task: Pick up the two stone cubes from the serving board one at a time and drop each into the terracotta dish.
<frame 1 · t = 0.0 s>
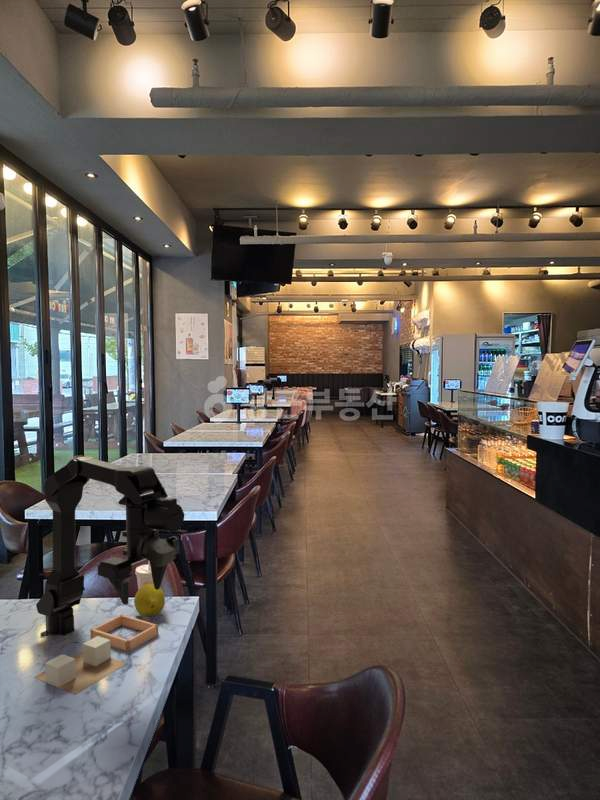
hand: (141, 596, 118), 15 cm above the table, tool pointing down, fingers open, 9 cm apart
lemon: (149, 616, 142), on the table
smoothie: (146, 602, 150), on the table
board: (81, 674, 114), on the table
stone a: (97, 659, 118), point 1 cm above the table, touching board
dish: (124, 640, 129), on the table
stone b: (60, 680, 110), point 1 cm above the table, touching board
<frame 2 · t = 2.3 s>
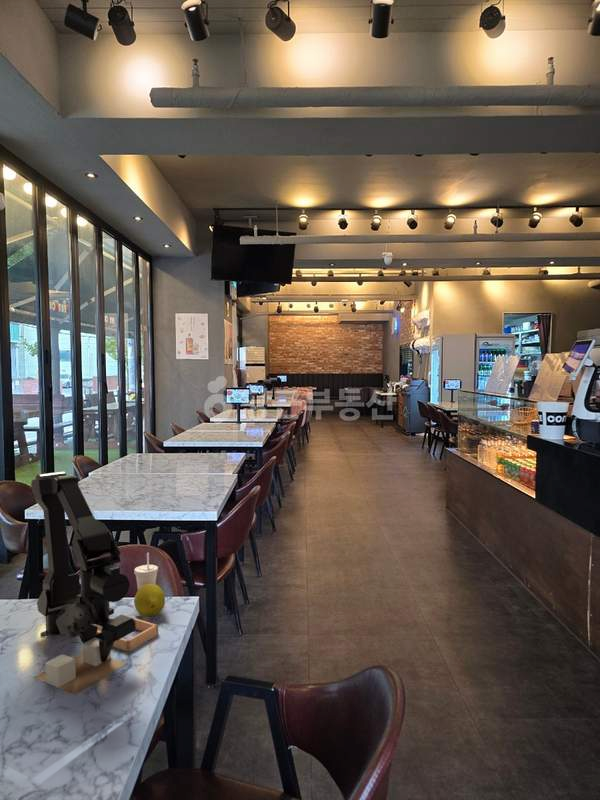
hand: (97, 658, 118), 1 cm above the table, tool pointing down, fingers closed on stone a, 4 cm apart
stone a: (97, 659, 118), point 1 cm above the table, touching board, gripper
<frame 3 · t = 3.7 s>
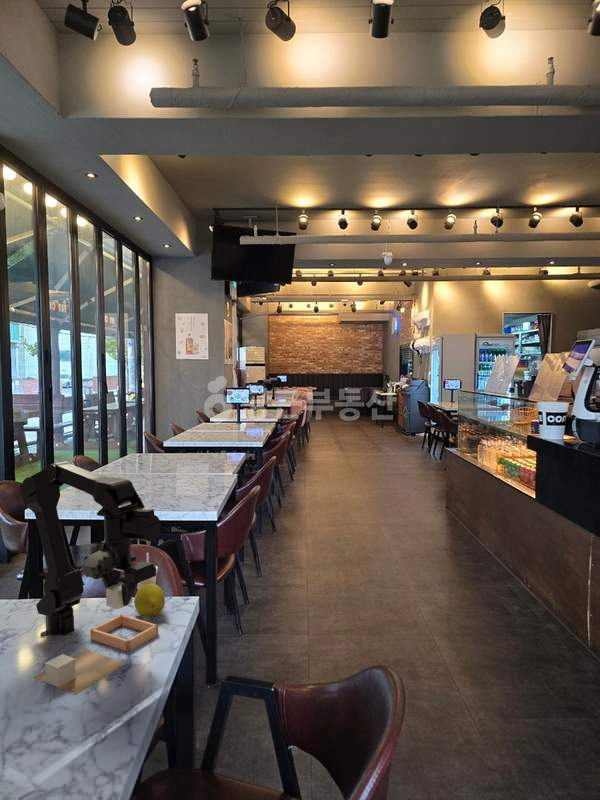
hand: (119, 603, 124), 11 cm above the table, tool pointing down, fingers closed on stone a, 4 cm apart
stone a: (119, 604, 124), point 11 cm above the table, touching gripper
everything else where it was.
when the fingers open (4 cm above the table, at t = 5.3 s): stone a drops 3 cm, resting on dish.
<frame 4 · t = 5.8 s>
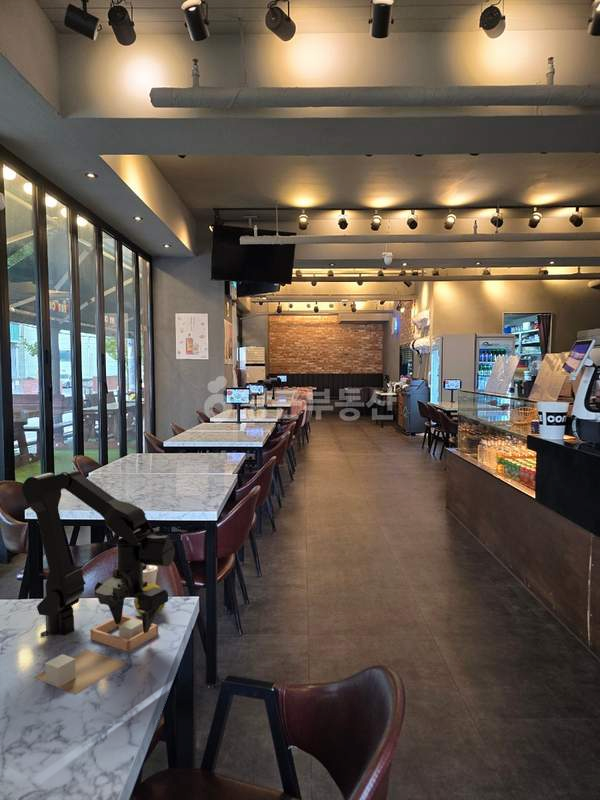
hand: (131, 627, 127), 4 cm above the table, tool pointing down, fingers open, 9 cm apart
stone a: (132, 640, 127), point 1 cm above the table, touching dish
everything else where it was.
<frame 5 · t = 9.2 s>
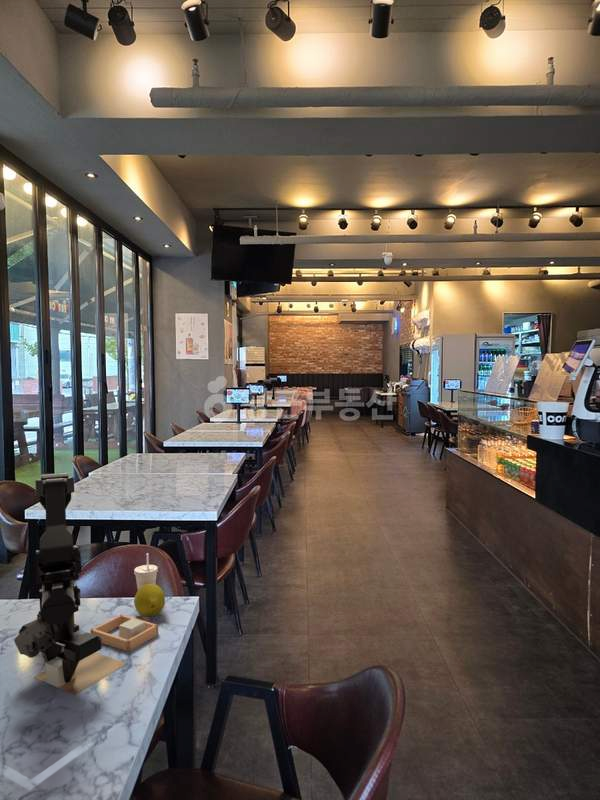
hand: (60, 679, 110), 1 cm above the table, tool pointing down, fingers closed on stone b, 4 cm apart
stone b: (60, 680, 110), point 1 cm above the table, touching board, gripper
everything else where it was.
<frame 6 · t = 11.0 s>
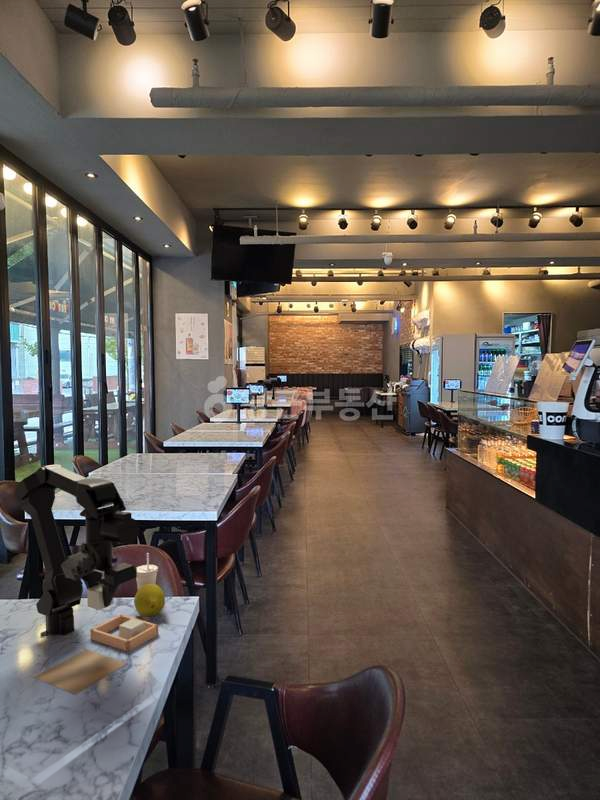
hand: (100, 604, 124), 11 cm above the table, tool pointing down, fingers closed on stone b, 4 cm apart
stone b: (100, 605, 124), point 11 cm above the table, touching gripper
everything else where it was.
when the fingers open (4 cm above the table, at t = 12.8 s): stone b drops 3 cm, resting on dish.
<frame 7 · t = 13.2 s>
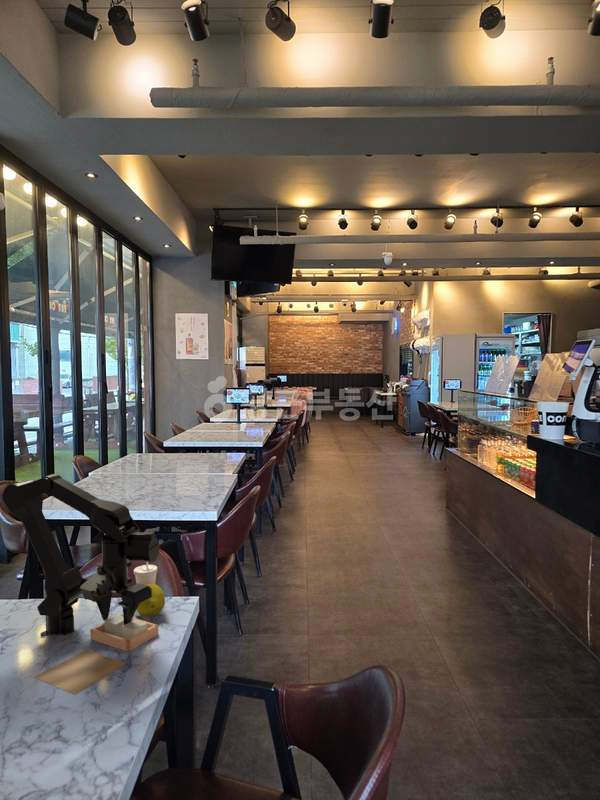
hand: (116, 623, 130), 4 cm above the table, tool pointing down, fingers open, 7 cm apart
stone a: (135, 641, 127), point 1 cm above the table, touching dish, gripper
stone b: (117, 635, 130), point 1 cm above the table, touching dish
everything else where it was.
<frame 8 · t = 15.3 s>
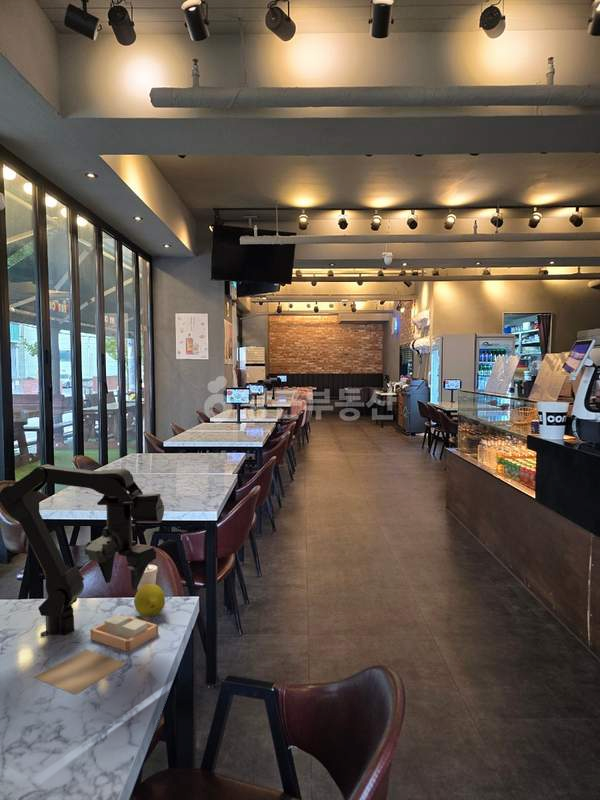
hand: (121, 585, 131), 12 cm above the table, tool pointing down, fingers open, 9 cm apart
stone a: (134, 641, 127), point 1 cm above the table, touching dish
everything else where it was.
at the end: stone a inside the target area on the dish (3.4 cm from its centre), point 0.6 cm above the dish's base; stone b inside the target area on the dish (2.5 cm from its centre), point 0.6 cm above the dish's base; the gripper is holding nothing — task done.
